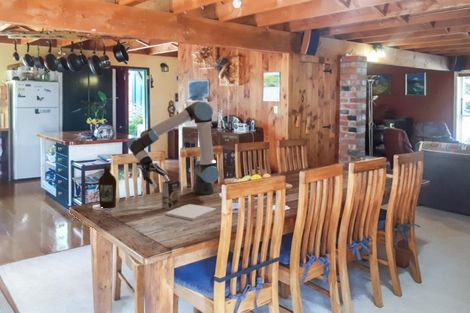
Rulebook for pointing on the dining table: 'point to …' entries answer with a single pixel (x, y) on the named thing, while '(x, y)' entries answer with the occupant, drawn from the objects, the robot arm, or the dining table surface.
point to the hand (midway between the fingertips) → (162, 185)
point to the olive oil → (107, 189)
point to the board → (190, 211)
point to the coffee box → (170, 194)
